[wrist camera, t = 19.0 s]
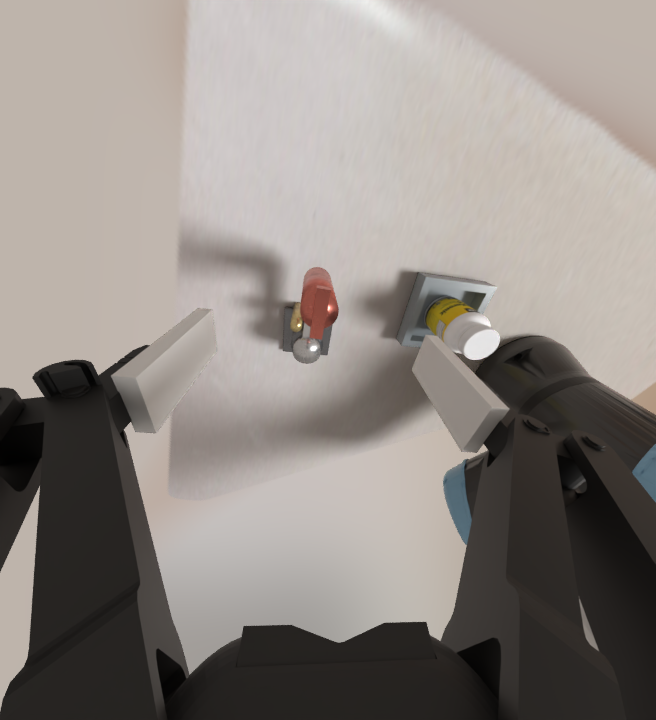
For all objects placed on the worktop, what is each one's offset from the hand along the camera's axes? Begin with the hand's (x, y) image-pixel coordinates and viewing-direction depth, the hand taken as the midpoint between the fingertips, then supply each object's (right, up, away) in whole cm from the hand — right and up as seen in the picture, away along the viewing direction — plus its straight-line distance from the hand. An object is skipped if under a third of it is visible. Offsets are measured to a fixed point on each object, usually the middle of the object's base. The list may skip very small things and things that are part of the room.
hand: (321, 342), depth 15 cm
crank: (-2, +5, +14) cm, 15 cm away
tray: (+17, +6, +20) cm, 27 cm away
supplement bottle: (+17, +6, +20) cm, 27 cm away
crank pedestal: (-3, +3, +21) cm, 21 cm away
